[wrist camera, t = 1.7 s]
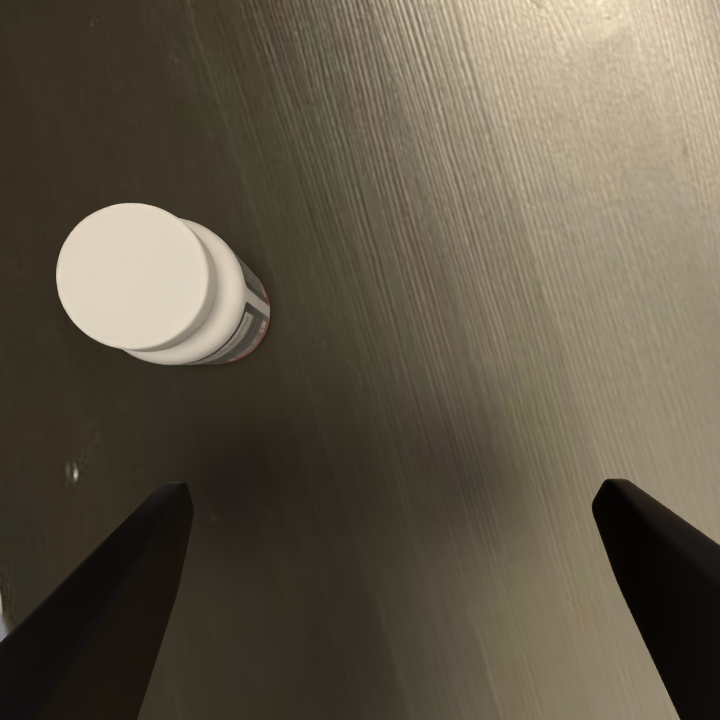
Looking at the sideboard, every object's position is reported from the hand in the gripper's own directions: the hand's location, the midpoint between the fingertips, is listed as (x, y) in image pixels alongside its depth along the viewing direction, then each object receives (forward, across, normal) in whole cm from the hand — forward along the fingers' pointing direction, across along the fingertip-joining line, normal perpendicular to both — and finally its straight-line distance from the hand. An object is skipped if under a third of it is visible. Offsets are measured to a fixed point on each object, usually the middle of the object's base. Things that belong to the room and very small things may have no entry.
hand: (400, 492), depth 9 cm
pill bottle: (+15, +8, +4) cm, 17 cm away
